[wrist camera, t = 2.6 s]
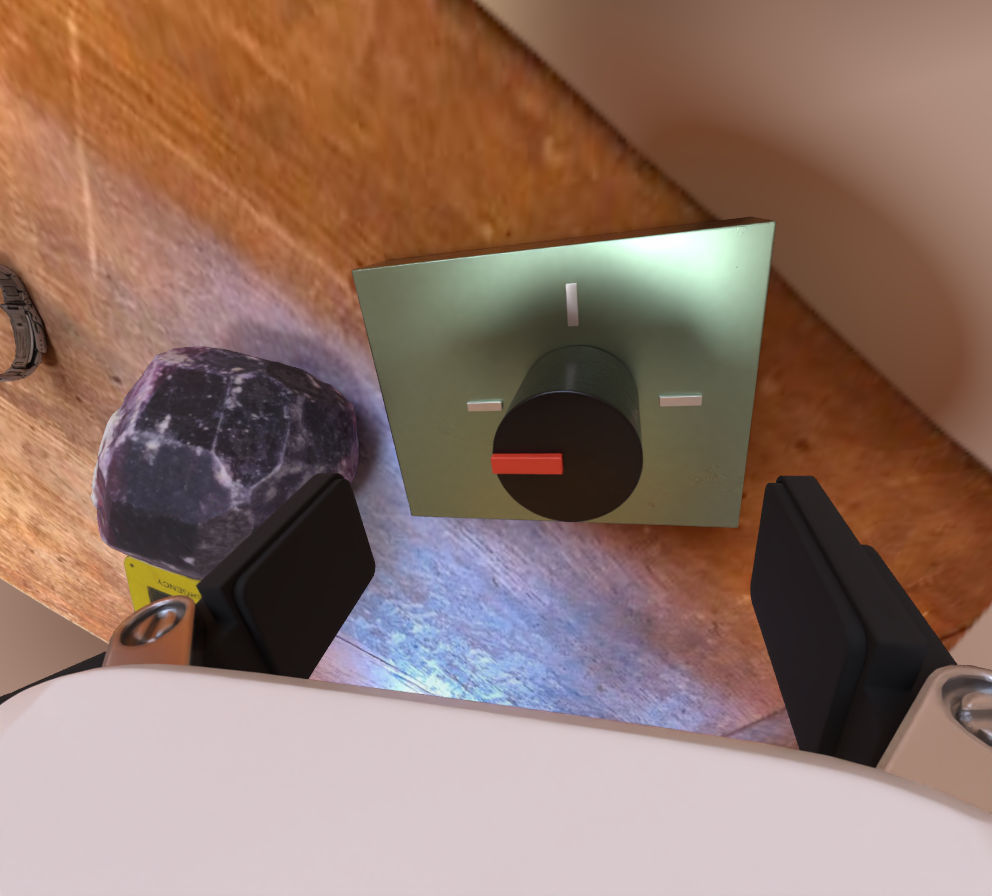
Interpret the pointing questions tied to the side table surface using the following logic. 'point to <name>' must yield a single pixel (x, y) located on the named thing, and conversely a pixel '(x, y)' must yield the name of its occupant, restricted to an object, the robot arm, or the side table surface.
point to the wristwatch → (21, 327)
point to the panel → (576, 322)
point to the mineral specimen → (213, 454)
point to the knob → (571, 436)
